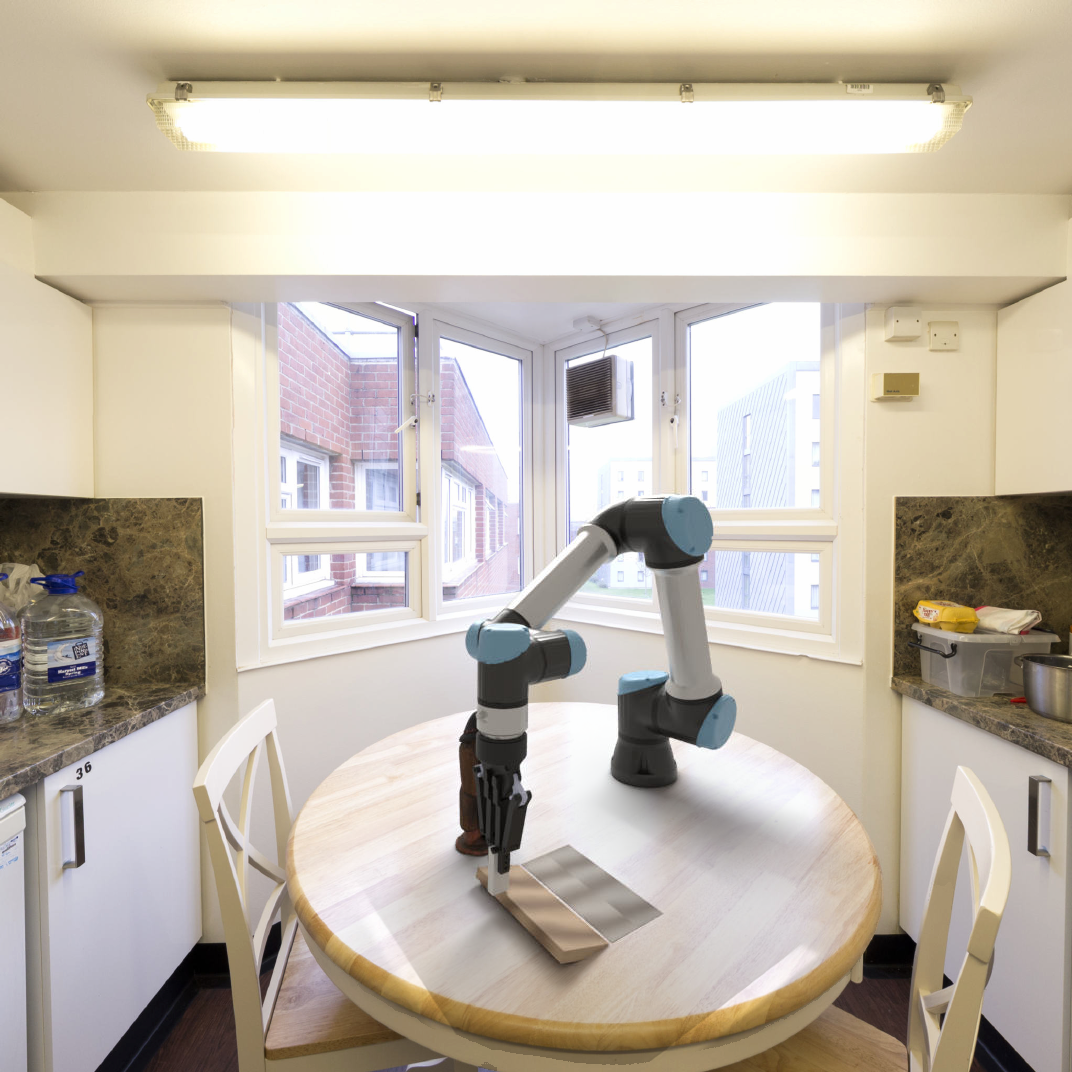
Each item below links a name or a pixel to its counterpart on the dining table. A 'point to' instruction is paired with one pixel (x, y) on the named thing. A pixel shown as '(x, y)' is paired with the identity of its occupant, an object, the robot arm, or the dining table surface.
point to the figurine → (469, 794)
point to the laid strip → (592, 892)
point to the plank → (546, 917)
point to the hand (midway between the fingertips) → (498, 890)
